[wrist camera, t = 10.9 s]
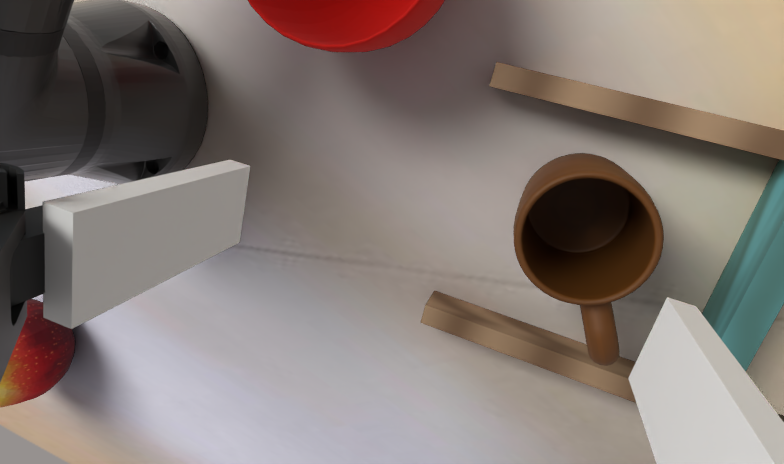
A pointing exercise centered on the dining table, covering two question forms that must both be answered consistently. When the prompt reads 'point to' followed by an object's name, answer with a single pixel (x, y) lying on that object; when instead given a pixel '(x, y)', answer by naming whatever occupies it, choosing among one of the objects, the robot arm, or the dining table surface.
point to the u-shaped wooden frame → (735, 287)
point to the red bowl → (346, 21)
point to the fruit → (36, 357)
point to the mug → (588, 240)
